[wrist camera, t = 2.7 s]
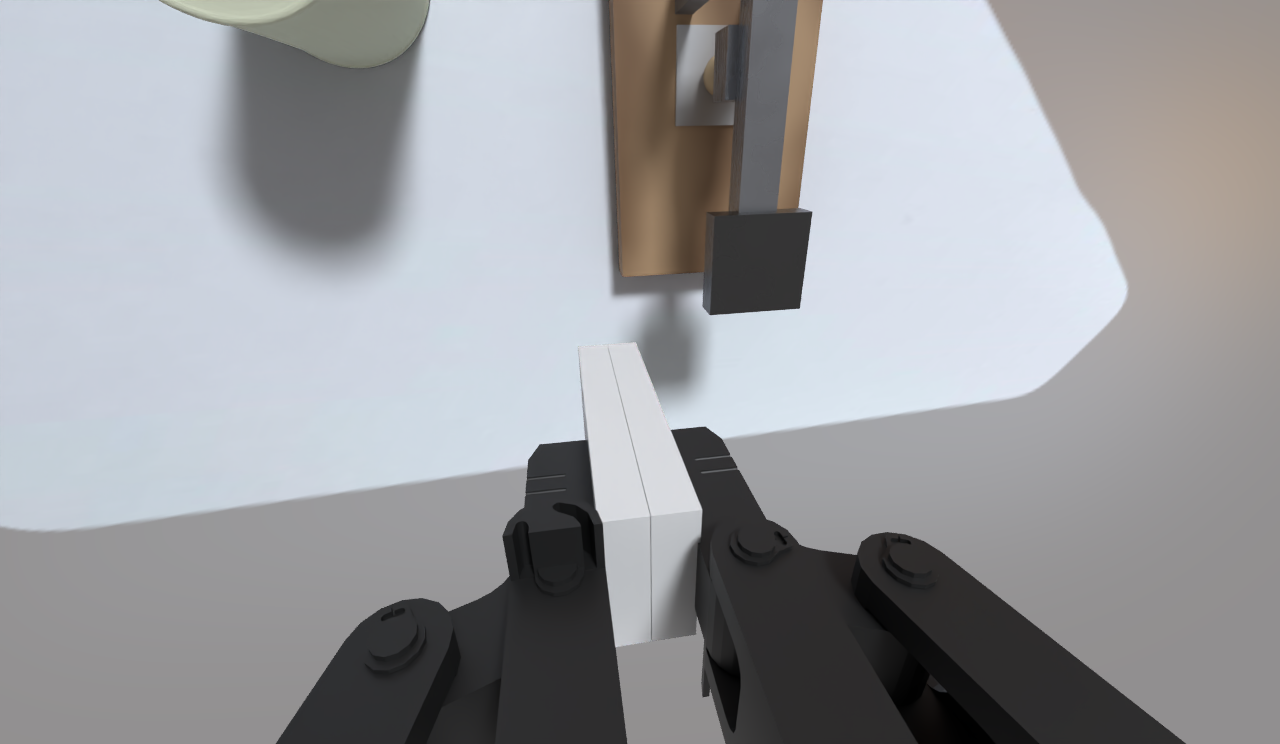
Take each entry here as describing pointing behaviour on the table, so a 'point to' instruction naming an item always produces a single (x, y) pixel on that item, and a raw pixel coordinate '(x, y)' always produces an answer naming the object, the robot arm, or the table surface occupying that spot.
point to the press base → (686, 126)
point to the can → (322, 25)
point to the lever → (755, 169)
